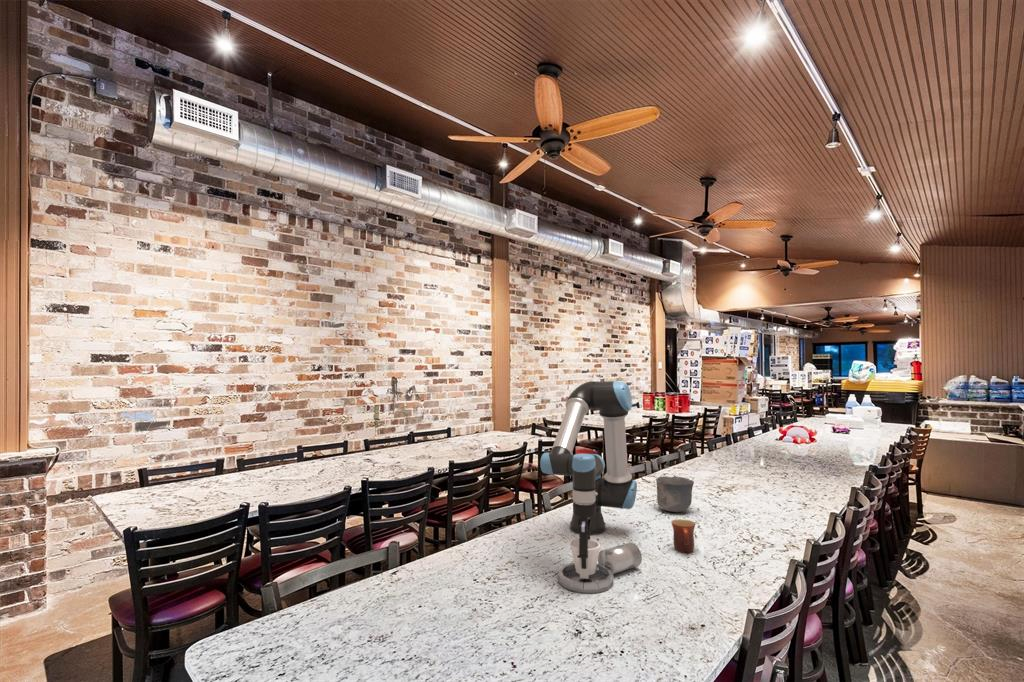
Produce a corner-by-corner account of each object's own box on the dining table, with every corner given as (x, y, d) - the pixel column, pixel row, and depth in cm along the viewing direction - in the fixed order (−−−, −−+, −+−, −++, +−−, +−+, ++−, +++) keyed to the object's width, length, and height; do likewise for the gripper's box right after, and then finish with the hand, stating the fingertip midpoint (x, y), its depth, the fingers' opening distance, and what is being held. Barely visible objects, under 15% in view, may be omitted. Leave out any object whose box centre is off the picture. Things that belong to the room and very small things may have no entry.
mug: (670, 545, 196) (670, 518, 196) (694, 546, 194) (693, 519, 194) (674, 556, 184) (673, 528, 184) (699, 558, 182) (698, 529, 182)
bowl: (699, 509, 242) (698, 478, 243) (690, 519, 228) (689, 486, 228) (662, 504, 252) (661, 474, 253) (651, 513, 237) (651, 481, 238)
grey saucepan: (582, 599, 151) (582, 572, 152) (547, 578, 167) (546, 553, 167) (653, 575, 168) (652, 550, 168) (615, 557, 183) (614, 535, 184)
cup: (573, 564, 170) (573, 537, 171) (603, 568, 167) (602, 540, 167) (567, 576, 161) (566, 547, 161) (598, 580, 158) (597, 550, 158)
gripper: (593, 512, 154) (595, 587, 153) (597, 494, 175) (598, 559, 174) (569, 511, 155) (570, 585, 154) (576, 493, 177) (577, 558, 175)
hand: (585, 571), depth 164 cm, fingers closed on cup, 9 cm apart
